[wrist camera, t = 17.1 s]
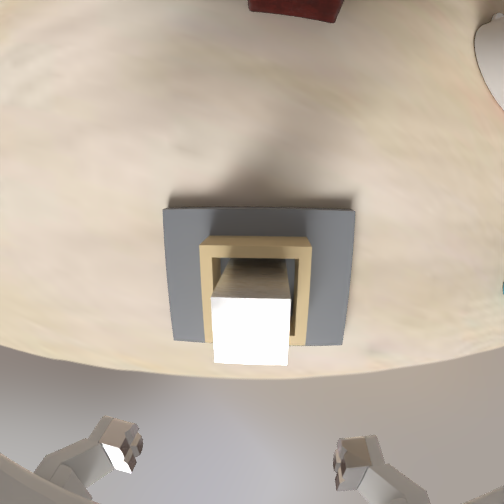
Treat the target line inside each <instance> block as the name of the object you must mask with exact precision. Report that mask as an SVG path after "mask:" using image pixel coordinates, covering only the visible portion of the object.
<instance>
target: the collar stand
mask: <svg viewBox="0 0 504 504" xmlns="http://www.w3.org/2000/svg"><path fill="white" fill-rule="evenodd" d="M354 226H355V211H354V210H351V209H326V208H286V207H185V208H166V209H163V227H164V244H165V259H166V271H167V283H168V293H169V303H170V312H171V321H172V329H173V337H174V340H177V341H189V342H202V343H213V329H212V312H211V295H212V293H213V291H214V289H215V287H216V285H217V283H218V282H219V280H220V278H221V276H222V274H223V272H224V270H225V268H226V266H227V264H228V262H229V260H230V258H276V259H285V260H286V267H287V275H288V282H289V290H290V297H291V304H290V323H289V341H288V346H329V345H342V342H343V335H344V328H345V321H346V313H347V305H348V296H349V287H350V278H351V267H352V255H353V242H354Z"/></svg>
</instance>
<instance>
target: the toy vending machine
mask: <svg viewBox="0 0 504 504" xmlns="http://www.w3.org/2000/svg"><path fill="white" fill-rule="evenodd" d="M343 1H344V0H248V6H249V10H250V11H253V12H264V13H273V14H281V15H289V16H296V17H302V18H308V19H313V20H318V21H323V22H328V23H334V22H335V21H336V18H337V16H338V13H339V11H340V8H341V6H342V4H343Z"/></svg>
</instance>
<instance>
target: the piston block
mask: <svg viewBox="0 0 504 504" xmlns="http://www.w3.org/2000/svg"><path fill="white" fill-rule="evenodd" d="M290 304H291V297H290V290H289V282H288V275H287V267H286V260H285V259H276V258H230V260H229V262H228V264H227V266H226V268H225V270H224V272H223V274H222V276H221V278H220V280H219V282H218V283H217V285H216V287H215V289H214V291H213V293H212V295H211V312H212V329H213V344H214V358H215V362H219V363H236V364H261V365H287V356H288V341H289V323H290Z"/></svg>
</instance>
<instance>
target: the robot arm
mask: <svg viewBox="0 0 504 504" xmlns="http://www.w3.org/2000/svg"><path fill="white" fill-rule="evenodd" d="M475 52H476V57H477V61H478V65H479V68H480V71H481V73H482V76H483V78H484V80H485V82H486V84H487V86H488V88H489V90H490V92H491V93H492V95H493V97H494V98H495V100H496V101H497V102H498V104H499V105H500V106H501V108H502V109H503V110H504V15H503V14H502V13H497V14H494V15H493V17H492V20H491V22H490V23H487V24H484V25H482V26H481V27H480V28H479V29H478V30H477V32H476V36H475ZM138 430H139V428H138V425H137V424H135V423H131V422H127V421H123V420H120V419H116V418H112V417H109V416H103V417H102V418H101V420H100V421H99V423H98V424H97V426H96V427H95V429H94V430H93V432H92V433H91V435H90V436H89V438H88V439H86V438H85V439H82V440H80V441H78V442H76V443H74V444H72V445H69V446H67V447H65V448H63V449H60V450H58V451H55V452H54V453H51V454H48V455H46V456H45V458H44V459H43V460H42V462H41V463H40V464H39V466H38V467H37V469H36V470H35V471H34V473H32V472H30V471H29V470H27V469H25V468H23V467H22V466H20V465H18V464H17V463H15V462H13V461H11V460H10V459H9V458H7V457H5V456H4V455H3V454H1V453H0V504H99V503H96V502H94V501H91V500H92V497H91V495H90V494H89V492H88V491H87V490H86V488H87V487H89V486H90V485H92V484H93V483H95V482H96V481H98V480H99V479H101V478H102V477H104V476H105V475H107V474H108V473H110V472H111V471H112V470H114V468H115V469H118V470H122V471H126V472H130V473H132V471H133V469H134V467H135V465H136V459H135V457H137V456H139V455H140V454H141V451H142V448H143V439H142V436H141V435H140V434H139V433H138ZM337 448H338V449H337V450H335V452H334V458H333V467H334V471H335V472H336V473H337V475H336V478H335V483H336V490H337V491H347V490H357V491H358V492H359V493H360V494H361V495H362V496H363V497H364V499H365V500H366V501H367V502H368V503H369V504H430V500H429V497H428V494H427V491H425V490H424V489H423V488H421V487H420V486H419V485H417V484H416V483H414V482H413V481H412V480H410V479H409V478H408V477H406V476H405V475H403V474H402V473H400V472H399V471H398V470H397V469H395V468H394V467H393V466H391V465H390V464H385V461H384V458H383V455H382V451H381V448H380V445H379V442H378V438H377V436H376V435H371V436H360V437H350V438H340V439H339V440H338V442H337ZM462 504H504V486H501V487H499V488H496V489H494V490H492V491H490V492H488V493H486V494H484V495H481V496H479V497H477V498H474V499H472V500H469V501H467V502H465V503H462Z"/></svg>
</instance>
